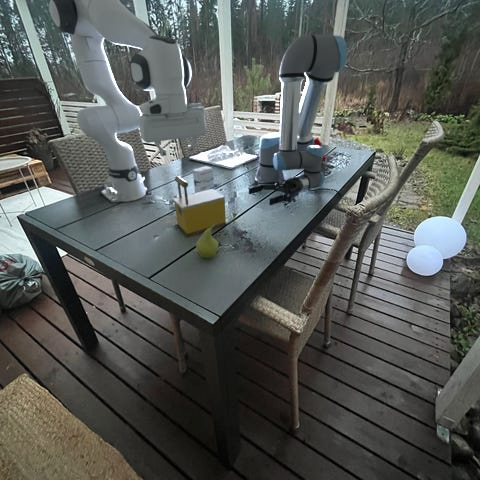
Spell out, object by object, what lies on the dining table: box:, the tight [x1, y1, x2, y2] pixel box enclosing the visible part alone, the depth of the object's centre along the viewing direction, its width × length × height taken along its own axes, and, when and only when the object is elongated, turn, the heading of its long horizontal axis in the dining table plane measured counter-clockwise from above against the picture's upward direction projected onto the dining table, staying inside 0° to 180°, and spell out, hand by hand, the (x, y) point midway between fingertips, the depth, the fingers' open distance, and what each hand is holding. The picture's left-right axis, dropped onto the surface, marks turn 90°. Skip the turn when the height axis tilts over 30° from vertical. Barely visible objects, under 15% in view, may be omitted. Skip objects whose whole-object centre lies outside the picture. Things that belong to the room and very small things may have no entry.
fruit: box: [195, 221, 219, 259], centre depth 84 cm, size 7×8×12 cm
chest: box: [174, 198, 227, 238], centre depth 101 cm, size 16×9×11 cm, turn 123°
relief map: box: [189, 144, 258, 170], centre depth 177 cm, size 27×35×5 cm
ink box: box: [192, 165, 215, 193], centre depth 128 cm, size 8×5×12 cm, turn 135°
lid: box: [171, 175, 226, 210], centre depth 96 cm, size 17×9×9 cm, turn 123°
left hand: (177, 153), depth 86 cm, fingers open, 8 cm apart
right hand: (259, 196), depth 112 cm, fingers open, 13 cm apart
